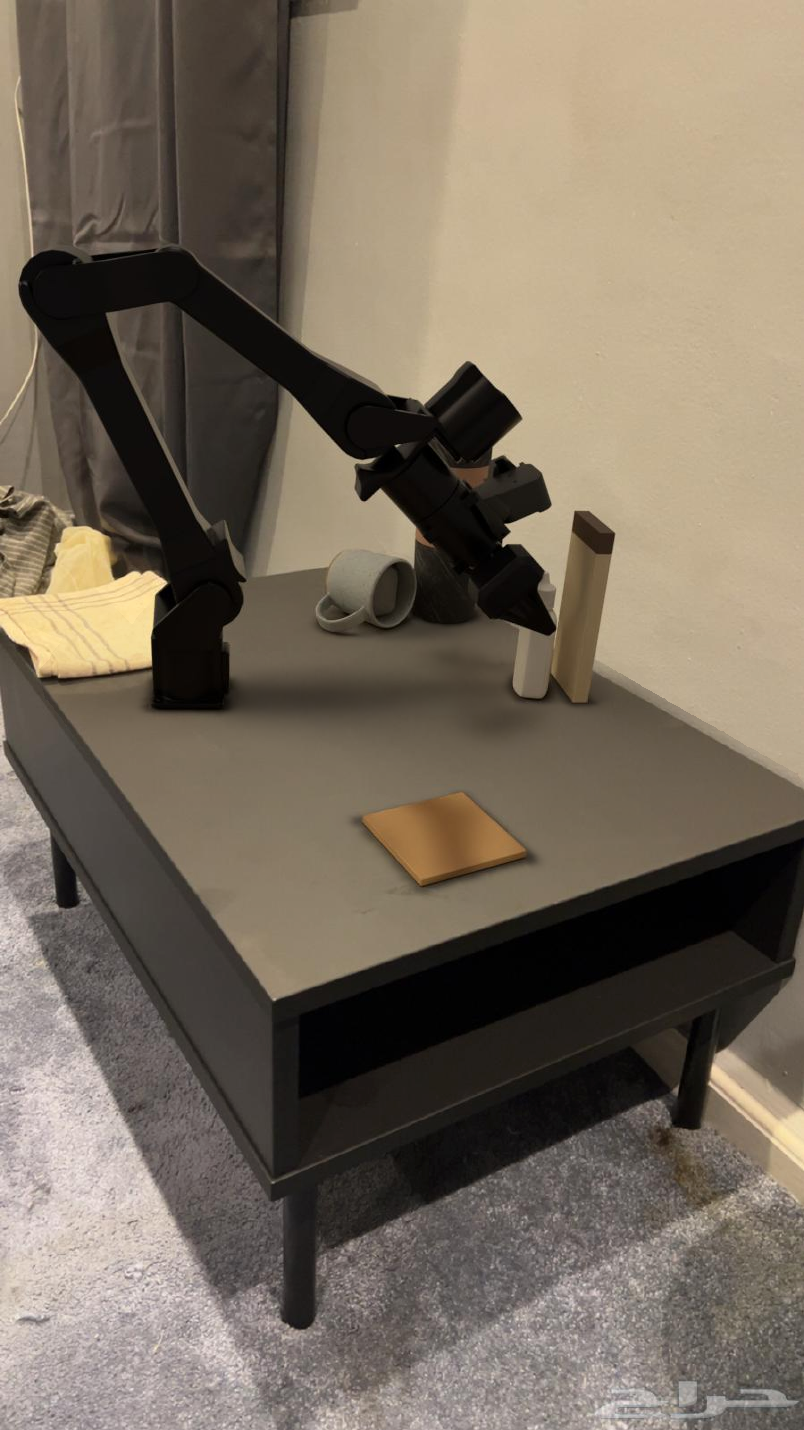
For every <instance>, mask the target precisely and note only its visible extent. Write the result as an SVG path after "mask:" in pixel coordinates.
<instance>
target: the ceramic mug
mask: <svg viewBox="0 0 804 1430" xmlns="http://www.w3.org/2000/svg"><path fill="white" fill-rule="evenodd" d="M416 589H417V581H416V574H415V571H414V566H412V564H411V563H410V561H408V560H407V559H405V558H401V557H397V556H392V555H388V554H384V553H379V552H375V551H371V550H367V549H363V548H348V549H344V550H342V551H340V552H339V553H337V554H336V555H335V556H334V557H333V558H332V560H331V561H330V563H329V565H328V566H327V569H326V572H325V577H324V591H325V595H324V596H323V597H322V598H321V599H319V601H318V602H317V605H316V606H315V616H316V619H317V622H318V624H319V625H320V627H321V628H322V629H323V630H325V631H328V632H331V633H342V632H347V631H351V630H353V629H354V628H356V627H358V626H359V625H361V624H363V623H364V622H367V623H369V624H372V625H374V626H376V627H378V628H383V629H390V628H391V629H392V628H393V627H396V626H397V625H399V624H400V623H402V622H403V621H404V620H405V619H406V618H407V616H408V615H409V613H410V612H411V610H412V609H413V602H414V599H415V595H416ZM332 606H334V607H335V608H336V609H338V610H339V611H341V612H343V613H346V614H348V615H347V616H345V617H343V618H340V619H333V620H332V619H331V620H329V619H327V618H326V617H325V616H324V614H325V613H326V611H328V609H329V608H330V607H332Z"/></svg>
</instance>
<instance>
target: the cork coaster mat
mask: <svg viewBox="0 0 804 1430" xmlns="http://www.w3.org/2000/svg"><path fill="white" fill-rule="evenodd" d="M362 823H363V824H364V826H365V827H367V829H368V830H369V831H370V832H371V833H372V834H373V835H374V836H375V838H377V840H378V841H379V842H380V843H381V844H382V845H383V847H385V848H386V849H387V851H388V852H389V853H390V854H391V855H392V856H393V858H395V859H396V860H397V861H398V863H399V864H400V865H401V866H402V867H403V868H404V869H405V870H406V871H407V872H408V874H409V875H410V876H411V877H412V879H414V880H415V882H417V884H418V885H419V886H420V887H425V886H427V885H430V884H434V883H435V884H436V883H438V882H441V881H445V880H449V879H452V878H456V877H459V876H464V875H467V874H469V873H473V872H477V871H481V870H484V869H489V868H491V867H495V866H498V865H502V864H507V863H509V862H513V861H516V860H521V859H524V858H527V853H528V850H527V849H526V848H525V847H524V846H523V845H522V844H520V843H519V842H518V840H516V838H514V837H513V836H511V834H509V833H508V832H507V831H506V830H505V829H504V828H503V827H501V825H499V824H498V823H497V822H496V821H495V820H494V819H493V818H492V817H491V816H489V814H488V813H487V812H485V811H484V810H483V809H482V808H480V807H479V805H477V804H476V803H475V802H474V801H473V800H472V799H471V798H470V797H468V795H466V794H465V793H464V792H463V791H460V792H457V793H456V792H455V793H452V794H448V795H444V796H439V797H435V798H432V799H427V800H422V801H419V802H414V803H410V804H405V805H401V806H397V807H393V808H389V809H385V810H380V811H377V812H371V813H368V814H367V813H366V814H363V815H362Z"/></svg>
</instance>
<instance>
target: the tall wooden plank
mask: <svg viewBox="0 0 804 1430" xmlns="http://www.w3.org/2000/svg"><path fill="white" fill-rule="evenodd" d="M572 518H573V519H572V524H571V525H572V526H571V531H570V532H571V533H570V538H569V546H568V552H567V559H566V565H565V572H564V580H563V587H562V593H561V600H560V606H559V615H558V619H557V629H556V634H555V641H554V648H553V655H552V661H551V668H550V674H551V675H552V676H553V678H554V679H555V680H556V682H557V683H558V684H559V686H560V688H562V690H563V691H564V692H565V694H566V695H567V698H568V699H570V701H571V703H573V704H575V703H578V704H579V703H580V704H581V703H588V699H589V695H590V688H591V683H592V677H593V670H594V665H595V664H594V663H595V657H596V652H597V645H598V641H599V634H600V628H601V623H602V618H603V617H602V615H603V611H604V604H605V598H606V593H607V592H606V591H607V586H608V580H609V574H610V568H611V563H612V555H613V551H614V550H613V549H614V545H615V538H616V532H615V531H614V530H612V528H610V527H609V526H608V525H606V524H605V522H603V521H602V520H601V519H599V518H598V517H597V516H596V515H595V514H593V512H591V511H590V510H574V511H573V517H572Z"/></svg>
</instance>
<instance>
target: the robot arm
mask: <svg viewBox="0 0 804 1430" xmlns="http://www.w3.org/2000/svg"><path fill="white" fill-rule="evenodd" d="M17 288H18V296H19V300H20V302H21V306H22V307H23V309H24V310H25V312H26V314H27V315H28V316H29V318H30V319H31V321H32V322H33V324H34V325H35V326H36V328H37V329H38V331H39V332H40V333H41V334H42V336H43V337H44V339H45V340H46V342H47V343H48V344H49V345H50V347H51V348H52V349H53V351H54V352H55V353H56V354H57V355H58V356H59V357H60V358H61V359H62V361H63V362H64V363H65V364H66V365H67V367H69V369H70V370H71V371H72V372H73V373H74V374H75V376H76V377H77V379H78V380H79V381H80V383H81V385H82V387H83V388H84V391H85V393H86V395H87V396H88V398H89V401H90V403H91V404H92V407H93V409H94V410H95V413H96V415H97V417H98V419H99V421H100V423H101V424H102V427H103V428H104V431H105V433H106V434H107V436H108V439H109V440H110V442H111V445H112V446H113V448H114V450H115V452H116V454H117V456H118V458H119V460H120V462H121V465H122V466H123V468H124V471H125V472H126V474H127V477H128V479H129V480H130V482H131V484H132V486H133V488H134V490H135V492H136V495H137V496H138V498H139V500H140V502H141V504H142V506H143V508H144V510H145V512H146V514H147V516H148V518H149V520H150V522H151V524H152V526H153V528H154V530H155V532H156V535H157V536H158V539H159V543H160V547H161V551H162V555H163V559H164V563H165V568H166V572H167V576H168V580H169V581H168V582H167V583H166V584H165V585H164V586H163V587H161V589H159V590H158V591H157V592H156V593H155V594H154V603H153V619H152V630H151V635H150V653H151V680H152V690H151V695H150V701H149V703H150V707H151V708H154V709H157V708H158V709H161V708H162V709H221V708H224V707H225V706H224V705H225V695H228V694H229V693H230V687H231V686H230V684H231V655H230V654H231V650H230V648H231V644H230V643H229V642H228V641H224V627H226V626H228V625H229V624H231V623H232V622H234V620H235V619H237V617H238V616H239V615H240V613H241V611H242V608H243V606H244V600H245V599H244V598H245V597H244V591H243V584H245V583H246V582H247V576H246V569H245V563H244V556H243V554H242V553H241V552H240V551H238V549H237V548H236V547H235V546H234V544H233V542H232V539H231V537H230V533H229V529H228V525H227V521H226V520H225V519H221V520H220V521H218V522H217V523H215V524H214V525H211V524H210V523H209V522H208V520H206V518H205V517H204V515H202V513H201V512H200V511H199V510H198V508H197V506H196V505H195V503H194V500H193V498H192V496H191V494H190V492H189V490H188V488H187V485H186V483H185V481H184V479H183V477H182V476H181V475H182V474H181V473H180V471H179V469H178V467H177V465H176V463H175V460H174V458H173V457H172V454H171V452H170V450H169V447H168V445H167V443H166V442H165V439H164V437H163V436H162V433H161V431H160V428H159V426H158V425H157V423H156V420H155V418H154V416H153V414H152V412H151V410H150V408H149V406H148V404H147V402H146V400H145V397H144V395H143V393H142V391H141V389H140V387H139V385H138V383H137V380H136V378H135V376H134V374H133V372H132V370H131V367H130V366H129V364H128V362H127V360H126V359H127V358H126V357H125V353H124V350H123V346H122V342H121V338H120V337H121V336H120V334H119V329H118V325H117V321H116V318H115V313H114V312H120V311H125V310H130V309H137V308H141V307H146V306H147V307H148V306H152V305H156V304H164V303H171V304H172V305H175V306H176V307H177V308H178V309H180V310H181V311H182V312H184V313H185V314H187V315H188V316H189V317H190V318H191V319H192V320H194V321H195V322H197V323H198V324H199V325H201V326H202V327H203V328H204V329H206V330H207V331H208V332H209V333H211V334H212V335H214V336H215V337H217V338H218V339H219V340H220V341H221V342H223V343H224V344H226V345H227V346H228V347H229V348H231V349H232V350H233V351H235V352H236V353H237V354H239V356H241V357H242V358H244V359H245V360H247V361H248V362H249V363H251V364H252V365H253V366H254V367H255V368H257V369H258V370H259V371H261V372H262V373H264V375H266V376H268V377H269V378H270V379H272V380H273V381H274V382H276V383H277V384H278V385H279V386H280V387H282V388H283V389H285V390H286V391H287V392H288V393H289V394H290V395H291V396H292V397H293V399H295V400H296V401H297V402H298V404H300V406H301V407H302V408H303V409H304V410H305V412H306V413H307V414H308V415H309V416H310V418H312V419H313V420H314V422H315V423H316V424H317V425H318V426H319V427H320V429H322V431H324V433H325V434H326V436H328V437H329V438H330V439H331V440H332V442H333V443H335V445H336V446H337V447H338V449H340V450H341V451H342V452H343V453H344V454H345V455H347V456H349V457H351V458H353V459H354V460H359V461H367V460H372V459H373V460H372V461H371V462H367V463H354V471H355V480H354V481H355V483H354V491H355V492H356V495H357V496H358V498H359V500H360V501H361V502H363V503H365V502H367V501H369V499H371V498H372V497H373V496H374V495H375V494H376V493H377V492H378V491H379V490H381V491H382V492H383V493H384V494H385V495H386V496H387V497H388V499H389V500H390V501H391V502H392V503H393V505H395V506H396V507H397V508H398V509H399V510H400V511H401V512H402V514H403V515H404V516H405V517H406V518H407V519H408V520H409V521H410V522H411V523H412V525H414V526H415V528H416V527H417V529H418V530H419V531H420V533H421V535H422V536H423V537H424V538H425V539H426V541H427V542H428V543H429V544H432V545H433V546H434V547H435V548H436V549H437V550H438V551H439V552H440V553H441V554H442V555H443V557H444V558H445V559H446V560H447V561H448V563H449V564H450V566H451V567H452V568H453V570H454V571H455V572H456V573H457V574H458V575H461V574H462V573H463V572H464V573H466V574H468V575H470V576H471V577H470V578H469V584H468V593H469V594H470V596H471V597H472V599H473V600H474V602H475V606H476V607H478V608H479V610H481V612H482V613H483V614H485V616H486V617H487V618H488V619H489V620H500V621H504V622H508V623H511V624H514V625H516V626H519V627H520V626H522V627H524V628H527V629H530V630H532V631H535V632H538V633H540V634H543V635H546V636H550V635H551V634H552V633H554V632H555V631H556V632H557V627H558V626H557V627H556V625H555V623H554V622H553V620H552V618H551V616H550V614H549V612H548V610H547V608H546V606H545V604H544V603H543V601H542V599H541V597H540V595H539V593H538V585H539V583H540V582H541V580H542V579H543V575H544V572H545V571H546V570H545V569H544V568H543V566H541V564H540V563H539V562H538V561H537V560H536V558H534V557H533V555H532V554H531V553H530V552H529V551H528V550H527V549H526V547H525V546H524V545H522V544H521V543H506V544H505V545H503V542H504V541H503V540H505V538H506V537H508V536H509V534H511V533H512V530H510V529H509V528H508V526H507V525H509V524H513V523H516V522H517V521H520V520H522V519H525V518H527V517H529V516H531V515H534V514H536V513H540V514H541V513H543V512H545V511H548V510H549V509H550V508H551V507H552V505H553V504H552V503H553V502H552V500H551V497H550V494H549V490H548V488H547V485H546V481H545V478H544V475H543V472H541V471H540V470H539V469H538V468H537V467H536V466H534V465H533V464H532V463H525V462H524V461H522V462H519V463H518V466H517V465H515V464H514V463H513V462H512V461H511V460H510V459H509V458H508V457H506V456H505V455H504V454H503V455H499V456H497V457H495V458H492V460H490V462H489V469H488V476H487V478H485V479H483V481H484V483H483V484H480V485H479V486H477V487H475V488H472V487H471V486H470V485H469V484H468V482H467V481H466V480H465V479H464V480H462V481H461V479H460V478H459V477H458V476H457V475H456V474H455V473H454V471H453V470H452V469H451V468H450V467H449V466H448V465H447V463H446V462H445V461H444V460H443V459H442V458H441V457H440V455H439V454H438V453H437V452H436V451H435V450H434V449H433V447H432V446H431V445H430V444H429V442H430V441H431V440H432V439H433V438H435V439H436V440H437V441H438V442H439V443H440V444H441V446H442V447H443V448H444V449H445V450H446V451H447V452H448V454H449V455H450V456H451V457H452V458H453V459H454V460H455V461H456V463H457V464H458V463H459V462H460V461H461V460H462V459H461V458H463V459H464V461H465V462H466V463H467V464H468V463H469V462H470V461H472V462H473V463H474V464H475V463H476V462H477V461H478V460H479V459H480V458H481V457H482V456H483V455H485V454H486V453H487V452H488V451H489V450H490V449H491V448H492V447H493V448H494V446H496V445H497V444H498V443H499V442H500V441H501V440H502V439H503V438H504V437H505V436H506V435H507V434H508V433H510V432H511V431H512V430H513V429H514V428H515V427H516V426H518V424H520V422H522V421H523V420H524V419H523V416H522V415H521V413H520V412H519V410H518V409H517V407H516V406H515V405H514V404H513V402H512V401H511V399H509V397H508V396H507V395H506V394H505V393H504V392H503V391H501V390H500V389H498V388H497V387H496V386H495V385H494V384H493V383H492V381H490V379H488V377H487V376H486V375H484V374H483V373H482V371H481V370H480V369H479V367H478V365H476V364H475V363H473V362H472V361H470V360H466V361H465V362H464V363H463V364H462V365H461V366H459V367H458V368H457V370H456V371H455V373H453V376H452V377H451V378H450V379H449V380H448V381H447V382H446V383H445V384H444V385H442V387H441V388H440V389H439V390H438V391H436V392H435V394H433V395H432V396H431V397H430V398H429V399H428V400H427V401H426V402H425V403H424V404H423V403H422V402H421V401H420V400H419V399H414V398H412V397H404V396H400V395H399V396H398V395H392V394H387V393H385V392H384V391H383V390H382V388H381V387H380V386H379V385H378V384H377V383H375V382H374V381H372V380H371V379H369V378H367V377H365V376H363V375H361V374H359V373H357V372H355V371H354V370H351V369H350V368H348V367H346V366H345V365H342V364H341V363H338V362H336V361H334V360H332V359H330V358H327V357H325V356H323V355H321V354H319V353H317V352H316V351H314V350H312V349H311V348H309V347H308V346H306V345H305V344H304V343H303V342H302V341H300V340H299V339H298V338H297V337H295V336H294V335H292V334H291V333H290V332H289V331H288V330H286V329H285V328H284V327H282V325H280V324H279V323H278V322H277V321H275V320H274V319H273V318H271V317H270V316H269V315H267V314H266V313H265V312H264V311H263V310H262V309H260V308H259V307H257V306H256V305H255V304H254V303H252V302H251V301H250V300H249V299H247V297H245V296H243V295H242V294H241V293H240V292H238V291H237V290H236V289H235V288H234V287H232V286H231V285H229V284H228V283H227V282H226V281H224V279H222V278H221V277H220V276H219V275H217V273H214V272H213V271H212V270H210V268H208V267H207V266H205V264H203V263H202V262H201V261H200V260H199V259H198V258H197V257H196V255H195V254H194V252H192V251H191V250H190V249H189V248H188V247H186V246H184V245H182V244H180V243H179V244H178V243H167V244H162V245H160V246H159V247H154V248H146V249H145V248H144V249H135V250H125V251H124V250H123V251H113V252H104V253H97V254H89V253H88V252H86V251H85V250H82V249H80V248H78V247H76V246H75V245H69V244H61V243H60V244H55V245H51V246H48V247H46V248H45V249H43V250H41V251H40V252H38V253H36V254H35V255H34V256H32V257H30V258H29V259H28V261H27V262H26V263H25V264H24V266H23V267H22V269H21V274H20V275H19V280H18V284H17Z"/></svg>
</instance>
